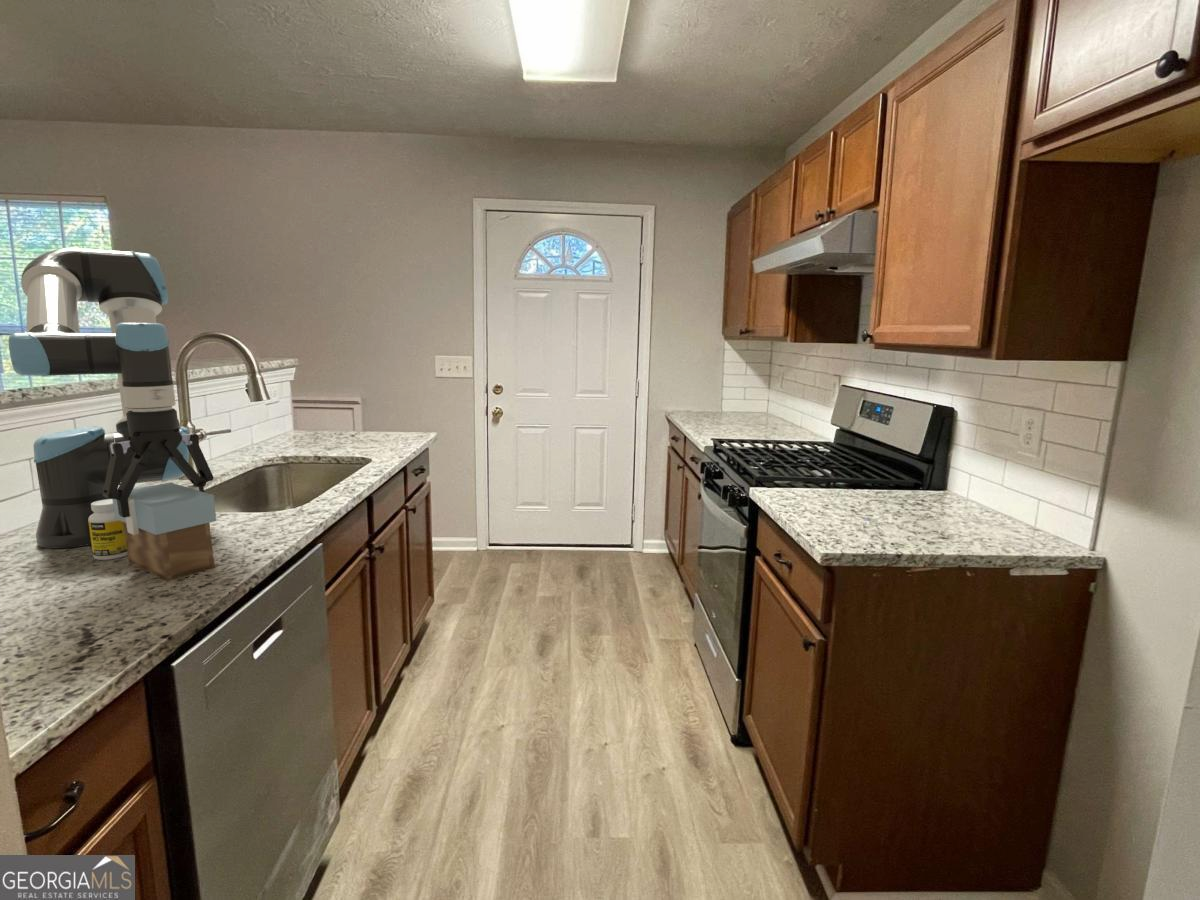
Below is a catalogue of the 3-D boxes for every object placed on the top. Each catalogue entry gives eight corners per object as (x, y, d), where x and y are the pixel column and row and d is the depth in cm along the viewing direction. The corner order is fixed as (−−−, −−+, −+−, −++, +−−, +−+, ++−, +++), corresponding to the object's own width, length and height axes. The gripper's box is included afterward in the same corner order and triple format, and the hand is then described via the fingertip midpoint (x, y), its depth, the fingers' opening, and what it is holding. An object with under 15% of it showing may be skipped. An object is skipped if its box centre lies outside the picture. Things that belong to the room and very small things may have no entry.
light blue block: (115, 524, 117) (111, 492, 116) (174, 512, 125) (170, 482, 124) (156, 541, 108) (152, 507, 107) (217, 526, 116) (213, 495, 115)
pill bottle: (89, 562, 119) (81, 507, 117) (97, 552, 124) (89, 499, 122) (129, 557, 121) (122, 503, 119) (135, 548, 127) (128, 496, 125)
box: (128, 562, 119) (122, 517, 117) (174, 550, 126) (169, 508, 124) (167, 580, 110) (161, 532, 109) (214, 567, 117) (209, 521, 115)
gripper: (82, 417, 101) (102, 546, 105) (226, 404, 120) (238, 514, 124) (65, 413, 105) (84, 538, 109) (207, 402, 124) (219, 508, 128)
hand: (166, 525), depth 117 cm, fingers closed on light blue block, 10 cm apart
